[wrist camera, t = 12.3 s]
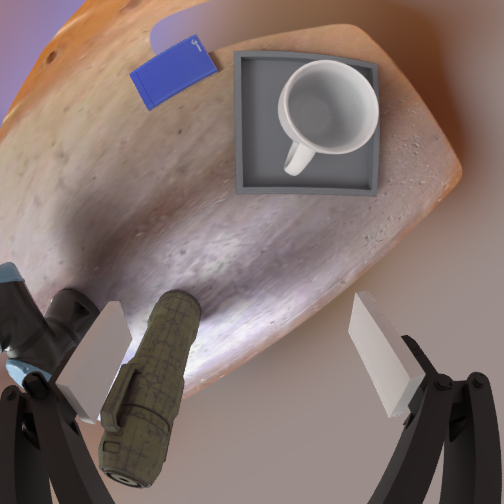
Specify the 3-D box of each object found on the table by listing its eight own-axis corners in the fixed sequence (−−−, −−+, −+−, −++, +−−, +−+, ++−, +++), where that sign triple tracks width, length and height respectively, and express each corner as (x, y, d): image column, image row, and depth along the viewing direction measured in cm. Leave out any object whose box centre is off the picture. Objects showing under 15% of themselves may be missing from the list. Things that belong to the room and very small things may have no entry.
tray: (237, 190, 42) (236, 194, 39) (234, 57, 34) (233, 51, 31) (369, 193, 42) (376, 196, 39) (369, 68, 34) (377, 64, 31)
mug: (315, 184, 41) (341, 203, 29) (250, 154, 39) (250, 159, 27) (353, 103, 36) (392, 92, 24) (290, 71, 34) (307, 42, 22)
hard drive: (195, 33, 31) (128, 73, 33) (218, 70, 34) (148, 110, 36) (197, 36, 32) (132, 75, 35) (219, 72, 35) (151, 111, 37)
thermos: (182, 276, 48) (110, 459, 16) (213, 324, 52) (186, 499, 20) (144, 292, 49) (61, 451, 17) (176, 337, 53) (132, 494, 21)
